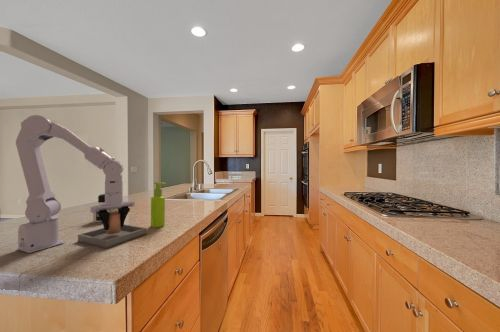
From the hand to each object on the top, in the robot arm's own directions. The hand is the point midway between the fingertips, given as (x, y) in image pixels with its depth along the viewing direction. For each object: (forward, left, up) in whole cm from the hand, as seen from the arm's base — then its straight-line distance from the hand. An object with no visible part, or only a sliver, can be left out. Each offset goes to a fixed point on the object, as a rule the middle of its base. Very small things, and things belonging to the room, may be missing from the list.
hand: (113, 227), depth 82 cm
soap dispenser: (+19, -3, -4) cm, 20 cm away
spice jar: (0, 0, -2) cm, 2 cm away
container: (+15, +28, -4) cm, 32 cm away
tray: (0, 0, -4) cm, 4 cm away
